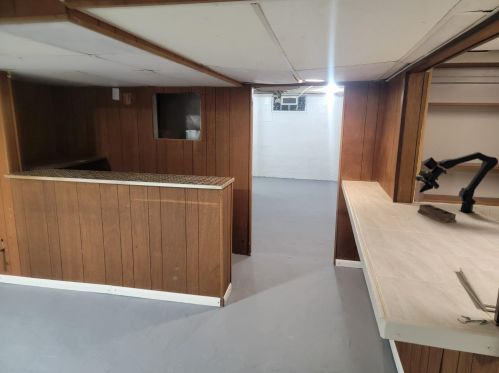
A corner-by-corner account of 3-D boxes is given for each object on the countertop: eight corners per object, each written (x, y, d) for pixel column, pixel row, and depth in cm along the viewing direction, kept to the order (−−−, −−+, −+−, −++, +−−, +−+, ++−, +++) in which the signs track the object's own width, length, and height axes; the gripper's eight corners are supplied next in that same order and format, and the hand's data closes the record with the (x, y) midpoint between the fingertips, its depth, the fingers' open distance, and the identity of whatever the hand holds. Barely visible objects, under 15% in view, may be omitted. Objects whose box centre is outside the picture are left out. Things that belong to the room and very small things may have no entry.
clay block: (418, 199, 218) (420, 181, 215) (422, 201, 213) (424, 182, 211) (414, 200, 217) (416, 181, 215) (418, 201, 213) (420, 182, 210)
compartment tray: (430, 211, 214) (430, 204, 213) (456, 222, 191) (457, 214, 190) (417, 211, 213) (418, 204, 212) (442, 222, 190) (443, 214, 189)
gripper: (418, 164, 220) (402, 180, 221) (436, 168, 202) (419, 186, 203) (428, 175, 222) (411, 191, 224) (447, 180, 204) (429, 197, 205)
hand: (417, 191), depth 214 cm, fingers closed on clay block, 4 cm apart
